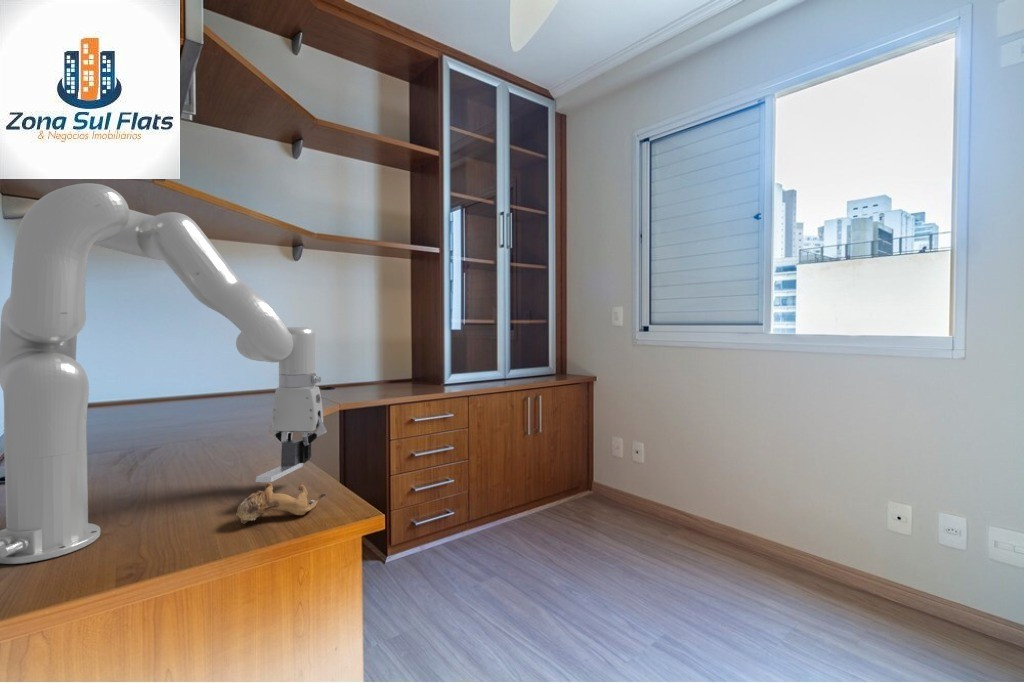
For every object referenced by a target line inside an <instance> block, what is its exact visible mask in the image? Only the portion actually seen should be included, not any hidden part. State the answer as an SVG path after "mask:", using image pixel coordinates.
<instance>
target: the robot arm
mask: <svg viewBox="0 0 1024 683" xmlns="http://www.w3.org/2000/svg"><path fill="white" fill-rule="evenodd" d="M93 246H96V247H100V248H105V249H108V250H112V251H117V252H121V253H125V254H128V255H133V256H137V257H141V258H146V259H152V260H157V261H164V262H165V264H167V266H168V267H169V268H170V269H171V270H172V271H173V273H174V274H175V275H176V277H178V278H179V280H180V281H181V282H182V283H183V284H184V286H185V287H186V288H187V289H188V291H189V292H190V293H191V294H192V296H193V297H194V298H195V299H196V300H197V301H198V302H199V303H201V304H202V305H204V306H205V307H207V308H209V309H210V310H213V311H214V312H217V313H218V314H220V315H222V316H224V317H225V318H226V319H227V320H228V321H230V322H231V323H232V324H233V325H234V326H235V327H236V328H237V329H238V330H239V331H240V333H239V334H238V335H237V337H236V340H235V346H236V347H235V348H236V349H237V351H238V353H239V354H240V355H242V356H243V357H244V358H246V359H247V360H252V361H258V362H266V363H273V364H274V363H278V387H276V388H275V393H274V396H273V403H272V412H271V416H272V417H271V423H270V426H269V428H268V429H267V432H268V434H270V435H272V436H274V437H275V438H277V440H278V441H279V442H280V444H281V445H282V442H285V441H288V440H293V433H301V436H302V437H301V438H302V440H303V445H302V446H301V463H303V464H305V463H307V462H308V461H310V459H311V457H312V443H313V442H314V441H315V440H316V439H317V438H318V437H320V436H323V435H324V434H326V433H327V431H328V430H327V428H326V426H325V424H324V412H323V411H324V409H323V402H322V401H323V399H322V395H321V390H320V387H319V386H316V385H317V383H321V382H322V377H321V376H317V373H316V333H315V330H314V329H313V328H311V327H307V326H306V327H304V326H303V327H301V326H300V327H299V326H297V327H295V326H294V327H293V326H288V327H287V326H286V325H285V324H284V322H283V320H281V318H280V317H279V315H278V314H277V313H276V311H275V310H274V309H273V308H272V307H271V305H269V303H267V301H266V300H264V298H262V297H261V296H260V295H259V294H257V293H256V292H255V291H254V290H253V289H252V288H251V287H250V286H249V285H248V284H247V283H245V282H244V280H242V279H241V278H240V277H239V276H238V275H237V274H236V272H234V270H233V269H232V267H230V265H229V264H228V262H227V261H226V260H225V259H224V257H223V256H222V255H221V254H220V252H219V251H218V249H217V247H215V246H214V244H213V243H212V242H211V240H210V239H209V238H208V236H207V235H206V233H204V231H203V229H201V228H200V226H199V225H198V224H197V223H196V221H194V220H193V219H192V218H191V217H190V216H189V215H186V214H184V213H181V212H175V211H173V212H172V211H170V212H162V213H159V214H157V215H152V214H147V213H143V212H140V211H137V210H134V209H130V208H129V205H128V203H127V200H125V197H124V196H123V195H122V194H121V193H119V192H118V191H117V190H115V189H113V188H112V187H110V186H107V185H105V184H101V183H94V182H93V183H92V182H91V183H90V182H85V183H76V184H72V185H67V186H64V187H60V188H58V189H55V190H53V191H51V192H48V193H47V194H45V195H43V196H42V197H41V198H39V199H38V200H37V201H35V203H33V204H32V206H31V207H30V208H29V209H28V210H27V211H26V213H24V215H23V217H22V219H21V221H20V223H19V226H18V227H17V232H16V235H15V242H14V249H13V262H12V269H11V287H10V294H9V296H8V298H7V299H6V300H5V302H4V304H3V306H2V309H1V315H0V387H1V390H2V392H3V395H2V396H3V451H4V452H3V453H4V454H3V455H4V479H5V481H4V484H5V485H4V486H5V487H4V489H5V493H4V494H5V524H6V525H5V528H4V529H0V564H4V565H5V564H6V565H16V564H19V565H20V564H27V563H34V562H39V561H40V562H41V561H44V560H49V559H53V558H57V557H61V556H65V555H67V554H70V553H73V552H75V551H77V550H80V549H83V548H85V547H86V546H89V545H91V544H92V543H94V542H95V541H96V540H98V538H100V536H101V527H100V526H99V525H97V524H96V523H95V524H94V523H92V522H91V523H89V506H88V505H89V501H88V500H89V499H88V497H89V495H88V488H89V487H88V447H87V446H88V444H87V443H88V442H87V438H88V437H87V421H88V420H87V419H88V418H87V417H88V406H89V394H90V392H89V391H90V390H89V389H90V387H89V385H90V384H89V380H88V376H87V373H86V370H85V369H84V367H83V366H82V365H81V364H80V363H79V362H78V361H77V343H78V342H77V339H78V334H79V333H80V332H81V331H82V330H83V328H84V326H85V323H86V320H87V315H86V314H87V312H86V278H87V277H86V275H87V267H88V258H89V254H90V250H91V248H92V247H93ZM316 429H317V430H316ZM314 431H315V432H314Z"/></svg>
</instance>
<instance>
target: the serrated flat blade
mask: <svg viewBox="0 0 1024 683" xmlns="http://www.w3.org/2000/svg"><path fill="white" fill-rule="evenodd" d="M302 445H303V439H292V440H288V441H285V442H282V444H281V456H280V457H281V458H280V460H281V461H280V465H279V466H276V467H275V468H272V469H271V470H268V471H266V472H264V473H261V474H260V475H257V476H255V483H272V482H274V481H276V480H278V479H280V478H282V477H284V476H286V475H288V474H291V473H292V472H294V471H296V470H298V469H300V468H303V466H304V463H301V446H302Z"/></svg>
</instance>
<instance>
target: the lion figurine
mask: <svg viewBox="0 0 1024 683" xmlns="http://www.w3.org/2000/svg"><path fill="white" fill-rule="evenodd" d="M264 487H265V488H264V490H258V491H256V492H253V493H251V494H250V495H249V496H247V497H246V498H244V500H243V501H242V502H241V503H239V505H238V506H237V511H236V513H235V516H238V517H239V518H240V523H241V524H242V523H243V524H242V525H244V524H247V523H248V522H250V521H255V520H257V518H258V517H260V516H262V515H264V514H265V513H267V512H269V511H274V512H289V513H291V514H293V515H295V516H303V515H305V514H306V513H307V512H309V511H311V510H313V509H315V507H316V505H317V504H318V502H319V501H320V500H321V499H322V498H324V497H325V496H326V495H327V493H321V494H320V495H318V497H317V498H316V499H315V500H314V499H311V500H308V498H307V496H308V494H309V492H308V490H307V487H306V486H305V485H304V484H300V485H298V491H300V492H301V493H299V494H298V495H297V497H296V498H295V497H293V496H291V495H289V494H285V493H274V492H273V490H274V487H273V483H272V482H266V484H265V486H264ZM308 504H309V505H308Z"/></svg>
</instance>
